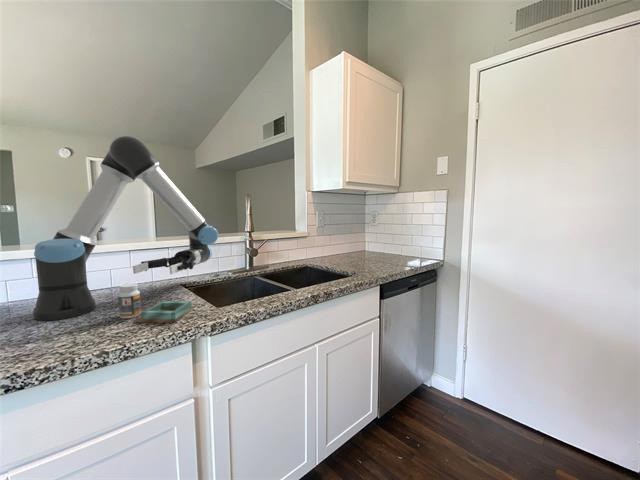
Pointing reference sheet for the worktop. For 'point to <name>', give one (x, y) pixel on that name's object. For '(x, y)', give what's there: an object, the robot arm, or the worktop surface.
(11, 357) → the worktop surface
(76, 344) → the worktop surface
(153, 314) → the socket board
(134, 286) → the pill bottle
